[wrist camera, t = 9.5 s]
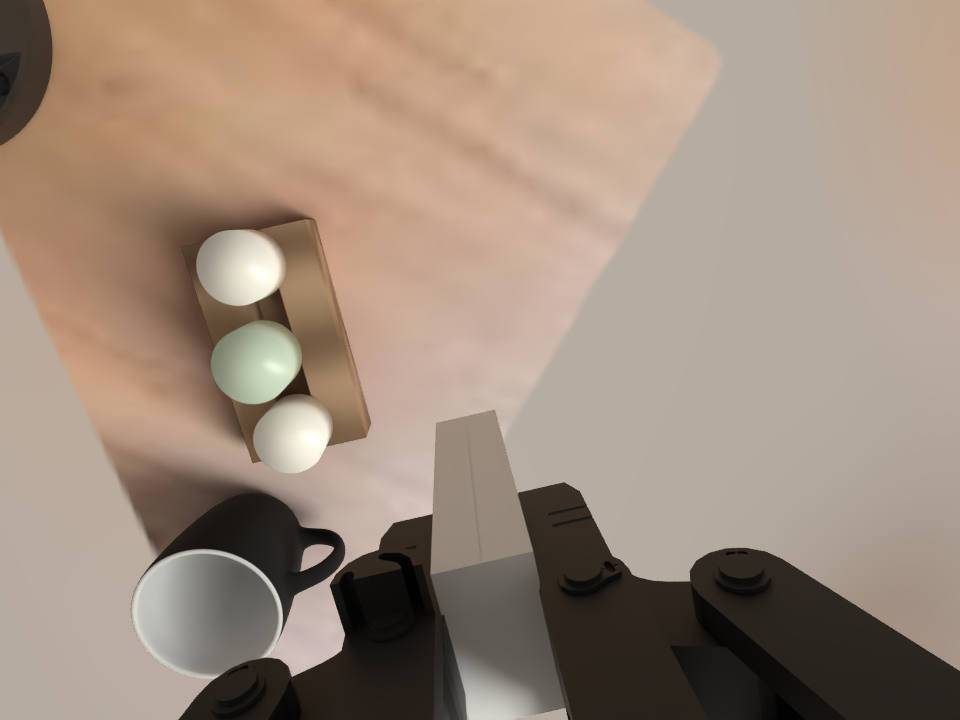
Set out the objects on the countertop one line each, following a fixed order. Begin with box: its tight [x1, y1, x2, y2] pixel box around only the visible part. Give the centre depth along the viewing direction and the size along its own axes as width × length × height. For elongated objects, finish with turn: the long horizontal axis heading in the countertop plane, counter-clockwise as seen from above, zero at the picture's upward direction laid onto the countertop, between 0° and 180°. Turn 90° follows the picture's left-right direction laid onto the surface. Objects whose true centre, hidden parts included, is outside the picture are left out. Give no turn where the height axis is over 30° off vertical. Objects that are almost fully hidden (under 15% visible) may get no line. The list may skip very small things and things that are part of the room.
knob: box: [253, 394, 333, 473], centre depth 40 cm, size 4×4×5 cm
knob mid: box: [211, 320, 302, 404], centre depth 37 cm, size 4×4×5 cm
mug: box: [131, 494, 345, 679], centre depth 41 cm, size 12×9×10 cm
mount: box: [181, 219, 371, 463], centre depth 41 cm, size 15×8×3 cm, turn 12°
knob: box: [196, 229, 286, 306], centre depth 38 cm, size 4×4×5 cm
